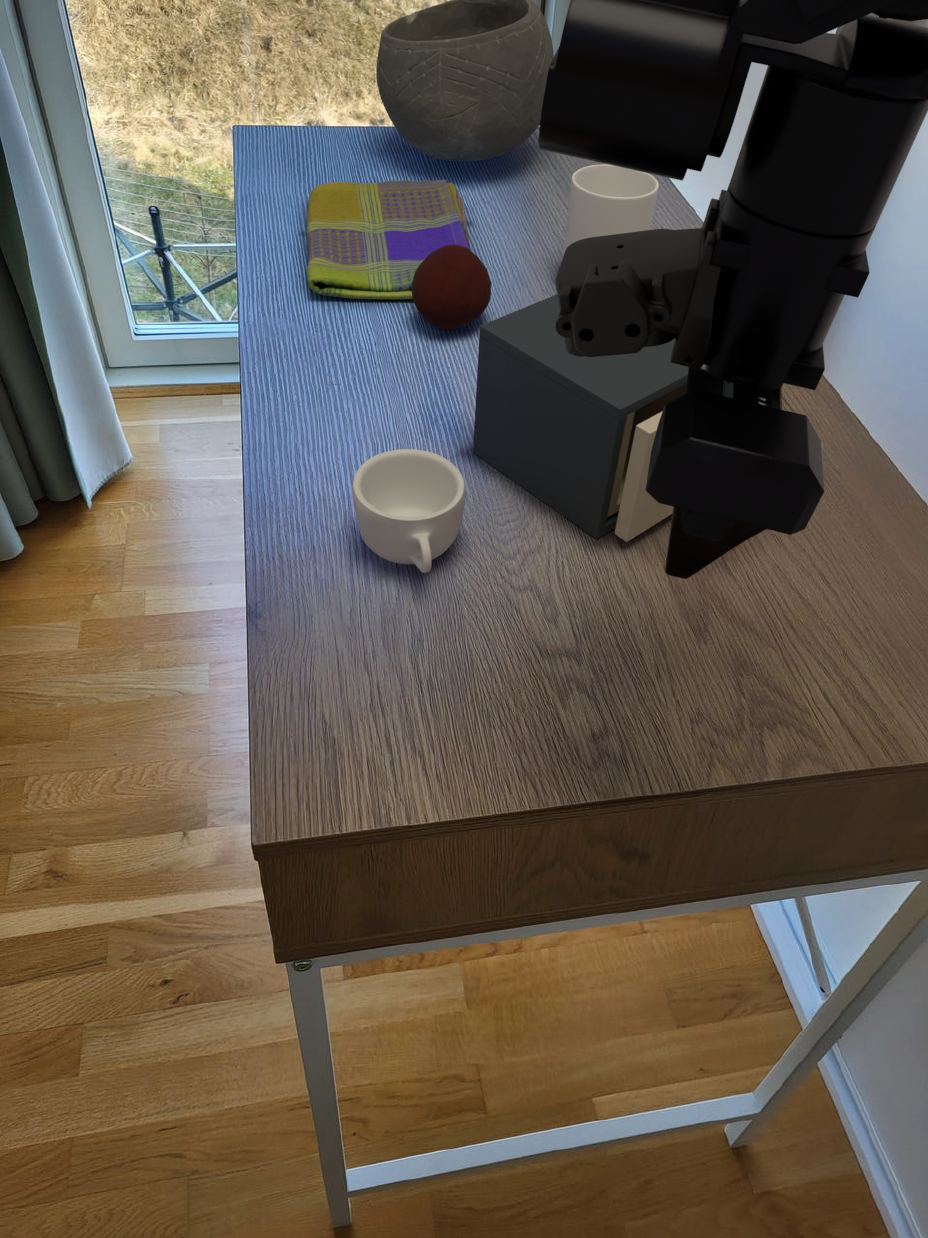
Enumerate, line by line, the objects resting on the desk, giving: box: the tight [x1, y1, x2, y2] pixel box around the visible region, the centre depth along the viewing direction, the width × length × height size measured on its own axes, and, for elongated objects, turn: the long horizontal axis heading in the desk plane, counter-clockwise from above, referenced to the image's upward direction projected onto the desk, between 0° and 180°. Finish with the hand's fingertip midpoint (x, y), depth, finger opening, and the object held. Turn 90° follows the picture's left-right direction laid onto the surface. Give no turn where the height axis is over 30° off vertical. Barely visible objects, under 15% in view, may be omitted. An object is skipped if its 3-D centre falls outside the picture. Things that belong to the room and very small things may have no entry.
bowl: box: [375, 0, 555, 162], centre depth 113 cm, size 21×21×15 cm
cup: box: [561, 163, 660, 260], centre depth 95 cm, size 8×12×10 cm
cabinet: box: [472, 293, 689, 540], centre depth 72 cm, size 14×13×11 cm
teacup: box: [351, 448, 466, 574], centre depth 65 cm, size 10×8×5 cm
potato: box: [411, 244, 492, 330], centre depth 88 cm, size 7×8×7 cm
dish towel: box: [306, 179, 471, 301], centre depth 100 cm, size 18×24×3 cm
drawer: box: [607, 385, 686, 543], centre depth 69 cm, size 17×11×9 cm, turn 41°
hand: (681, 513), depth 47 cm, fingers open, 9 cm apart
